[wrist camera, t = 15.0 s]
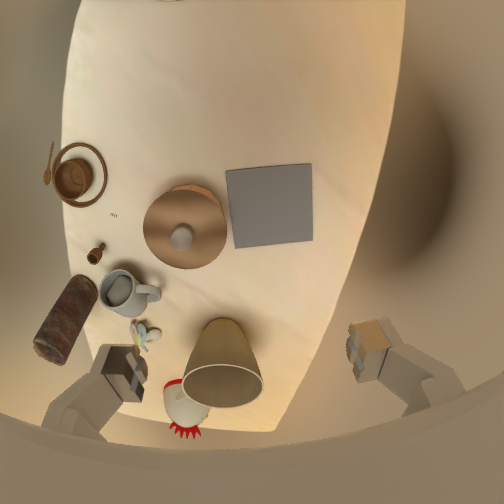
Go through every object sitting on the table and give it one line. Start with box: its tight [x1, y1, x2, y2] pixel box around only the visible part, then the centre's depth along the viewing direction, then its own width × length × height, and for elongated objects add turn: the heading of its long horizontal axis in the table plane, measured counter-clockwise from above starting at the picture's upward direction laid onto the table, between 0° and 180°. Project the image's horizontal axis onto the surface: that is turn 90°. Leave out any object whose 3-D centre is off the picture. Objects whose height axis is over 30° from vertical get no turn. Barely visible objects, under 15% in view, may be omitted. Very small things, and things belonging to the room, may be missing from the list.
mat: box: [225, 164, 313, 249], centre depth 49 cm, size 14×14×1 cm
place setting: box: [44, 142, 117, 265], centre depth 43 cm, size 18×20×6 cm
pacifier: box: [130, 323, 161, 352], centre depth 60 cm, size 7×6×6 cm
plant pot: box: [181, 318, 264, 409], centre depth 55 cm, size 15×15×16 cm
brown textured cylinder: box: [33, 275, 97, 366], centre depth 46 cm, size 8×7×20 cm
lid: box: [143, 189, 227, 269], centre depth 42 cm, size 13×13×5 cm
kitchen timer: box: [163, 379, 211, 438], centre depth 67 cm, size 14×14×15 cm
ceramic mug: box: [99, 269, 162, 318], centre depth 50 cm, size 11×8×8 cm
